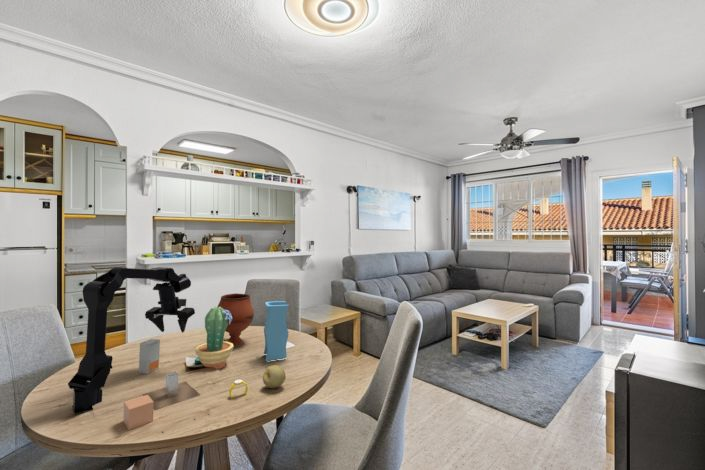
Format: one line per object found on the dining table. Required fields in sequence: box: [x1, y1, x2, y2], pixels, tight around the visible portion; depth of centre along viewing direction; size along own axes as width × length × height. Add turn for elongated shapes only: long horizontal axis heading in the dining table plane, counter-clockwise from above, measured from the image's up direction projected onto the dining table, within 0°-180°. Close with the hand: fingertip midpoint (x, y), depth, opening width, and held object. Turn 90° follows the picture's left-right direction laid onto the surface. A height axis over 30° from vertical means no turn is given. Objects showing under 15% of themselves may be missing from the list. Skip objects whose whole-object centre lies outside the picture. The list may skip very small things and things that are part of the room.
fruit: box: [262, 365, 287, 389], centre depth 117 cm, size 8×8×8 cm
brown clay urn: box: [216, 292, 255, 348], centre depth 164 cm, size 19×19×25 cm
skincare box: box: [138, 338, 161, 375], centre depth 130 cm, size 6×4×12 cm
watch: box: [228, 379, 249, 399], centre depth 109 cm, size 6×3×6 cm, turn 124°
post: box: [164, 371, 179, 398], centre depth 108 cm, size 3×3×7 cm
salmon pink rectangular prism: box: [123, 395, 154, 431], centre depth 93 cm, size 6×6×7 cm
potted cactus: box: [195, 306, 234, 370], centre depth 136 cm, size 15×16×25 cm
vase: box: [263, 300, 290, 361], centre depth 147 cm, size 10×10×25 cm
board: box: [141, 381, 201, 412], centre depth 108 cm, size 14×14×1 cm
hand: (173, 331), depth 133 cm, fingers open, 9 cm apart
